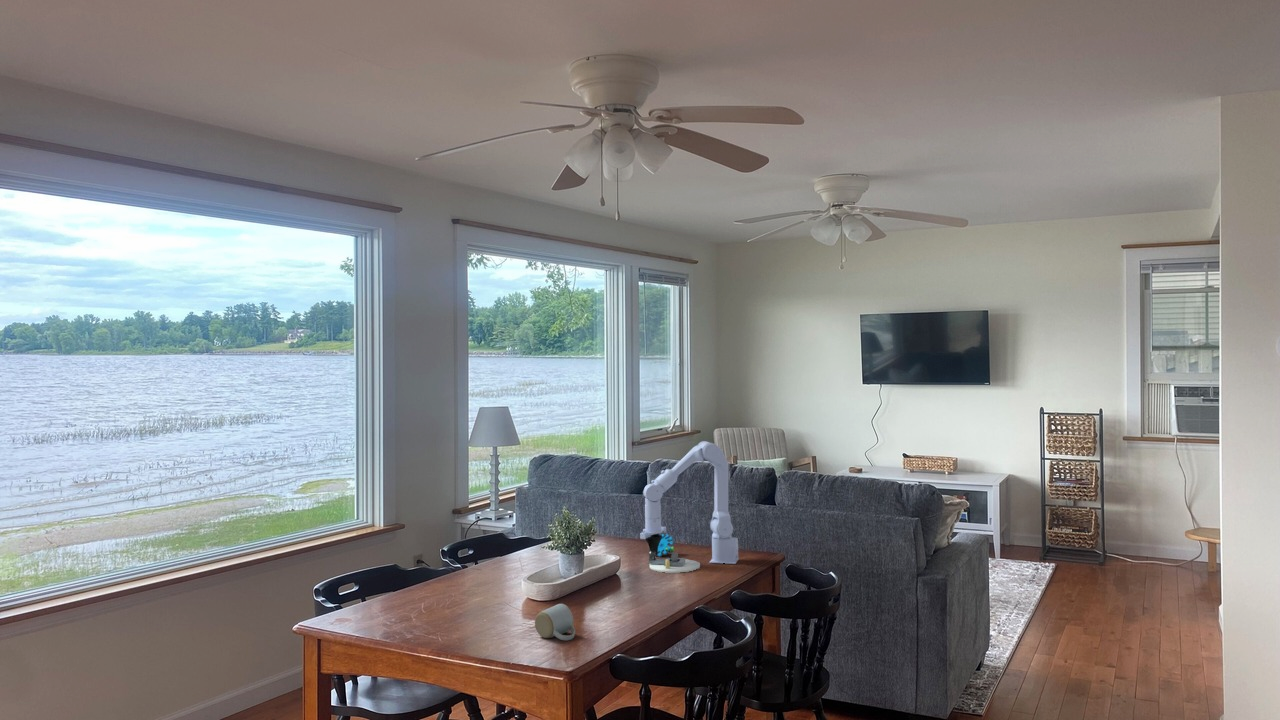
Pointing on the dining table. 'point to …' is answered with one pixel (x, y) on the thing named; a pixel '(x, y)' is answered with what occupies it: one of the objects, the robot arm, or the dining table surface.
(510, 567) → the dining table surface
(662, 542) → the gear
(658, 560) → the crank handle
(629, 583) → the dining table surface
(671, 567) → the base plate
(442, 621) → the dining table surface
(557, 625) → the ceramic mug
